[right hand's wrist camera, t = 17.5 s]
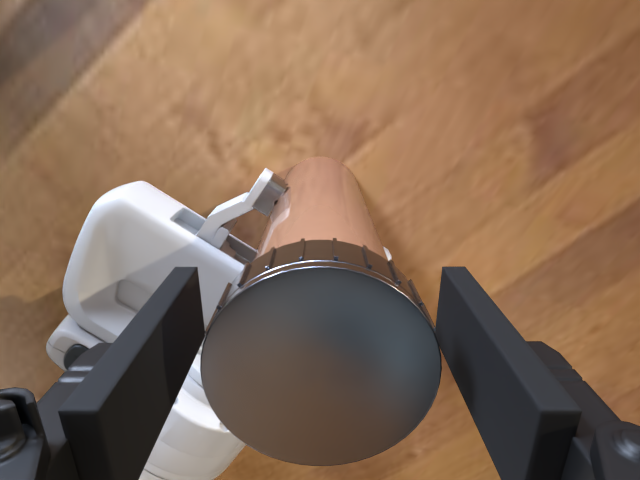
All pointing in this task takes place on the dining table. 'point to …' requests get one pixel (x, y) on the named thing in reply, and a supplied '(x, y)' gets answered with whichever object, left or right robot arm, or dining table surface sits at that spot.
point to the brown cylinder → (320, 209)
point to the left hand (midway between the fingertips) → (329, 212)
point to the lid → (320, 354)
